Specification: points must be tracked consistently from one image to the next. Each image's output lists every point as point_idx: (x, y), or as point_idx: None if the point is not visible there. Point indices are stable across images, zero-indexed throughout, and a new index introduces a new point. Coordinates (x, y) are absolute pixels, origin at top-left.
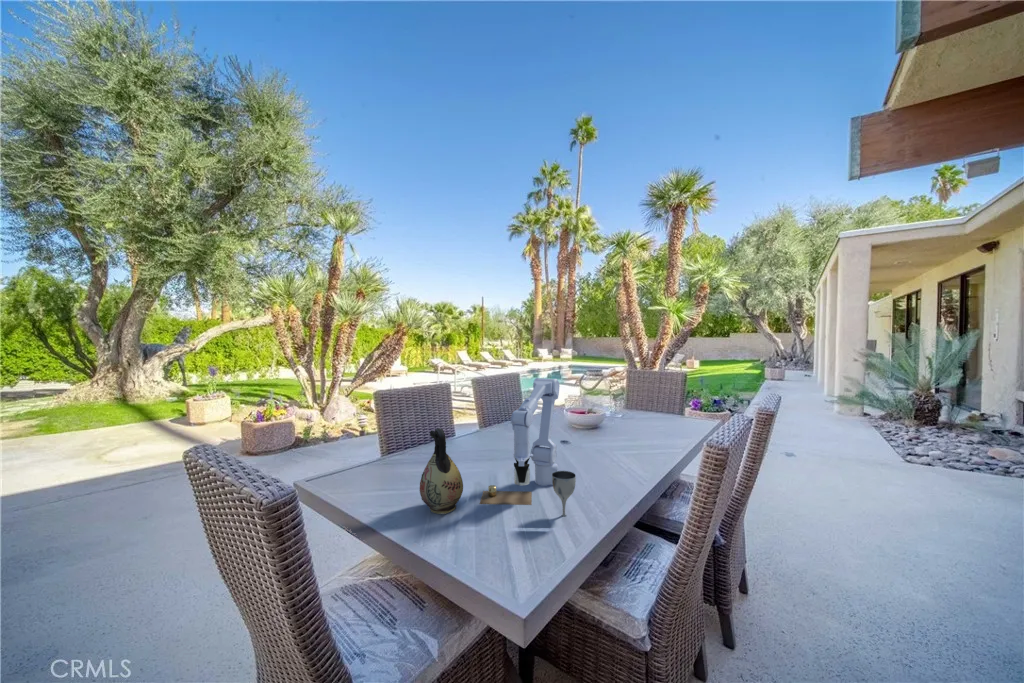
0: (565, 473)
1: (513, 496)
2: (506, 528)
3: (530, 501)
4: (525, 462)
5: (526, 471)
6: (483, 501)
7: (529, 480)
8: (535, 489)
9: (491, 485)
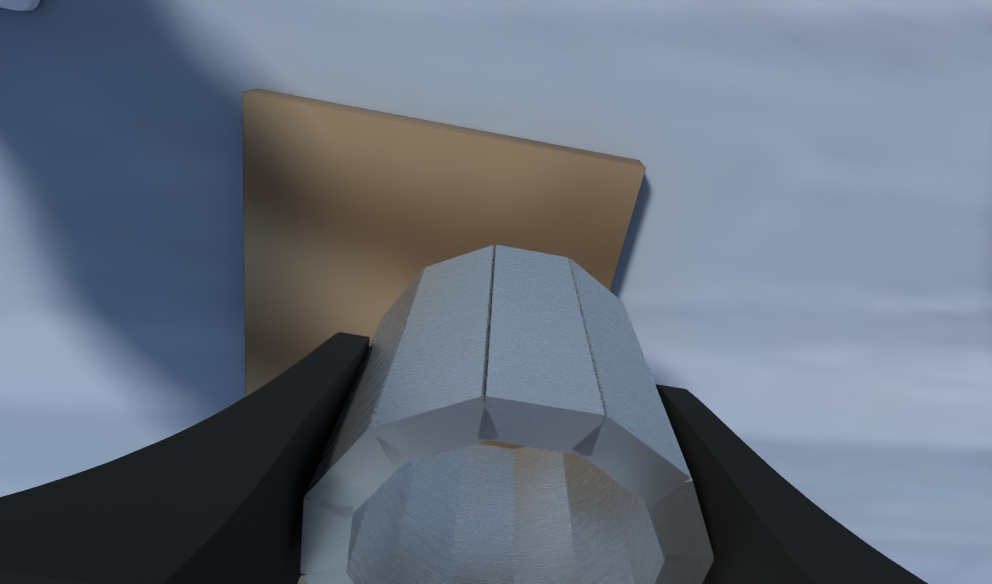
0: None
1: None
2: (968, 437)
3: (549, 164)
4: (244, 569)
5: (895, 573)
6: None
7: (578, 284)
8: (92, 3)
9: (301, 576)
